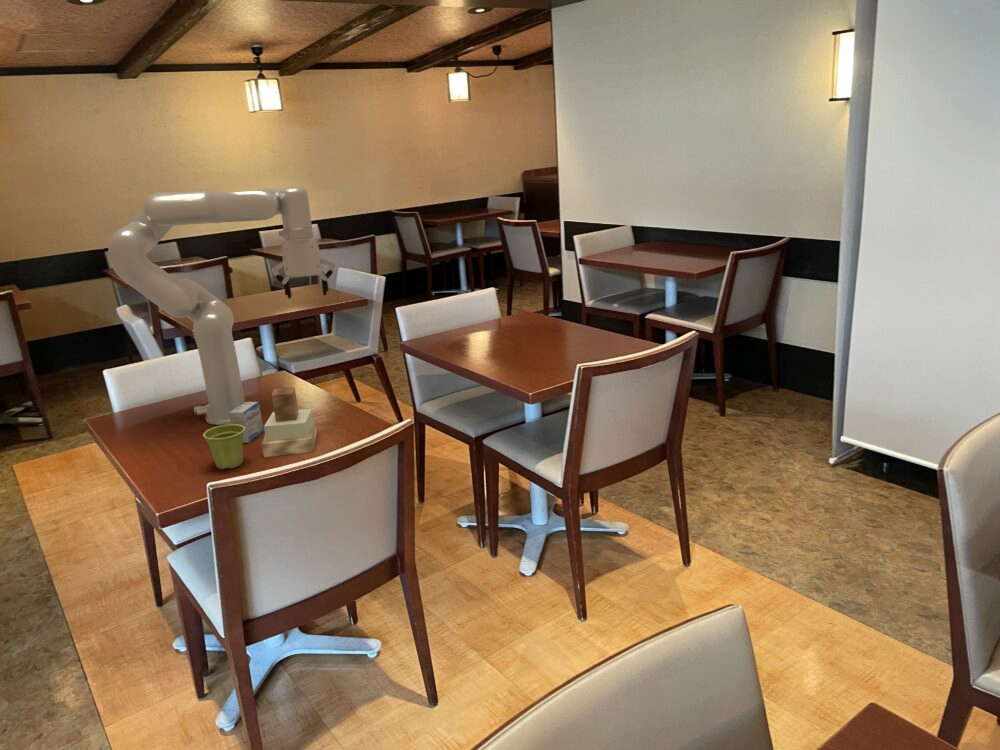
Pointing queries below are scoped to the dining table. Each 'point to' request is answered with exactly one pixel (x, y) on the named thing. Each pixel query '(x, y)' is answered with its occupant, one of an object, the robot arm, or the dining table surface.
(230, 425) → the plant pot
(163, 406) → the dining table surface
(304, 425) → the tower top block
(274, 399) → the walnut block
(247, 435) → the medicine box
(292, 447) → the tower base block
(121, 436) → the dining table surface
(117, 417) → the dining table surface
